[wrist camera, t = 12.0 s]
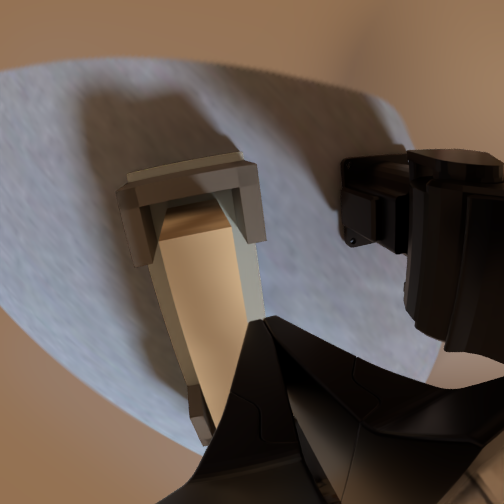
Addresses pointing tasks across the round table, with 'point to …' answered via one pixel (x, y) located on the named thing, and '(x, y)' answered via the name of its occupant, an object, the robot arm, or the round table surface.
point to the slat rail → (148, 250)
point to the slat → (206, 294)
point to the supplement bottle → (316, 469)
